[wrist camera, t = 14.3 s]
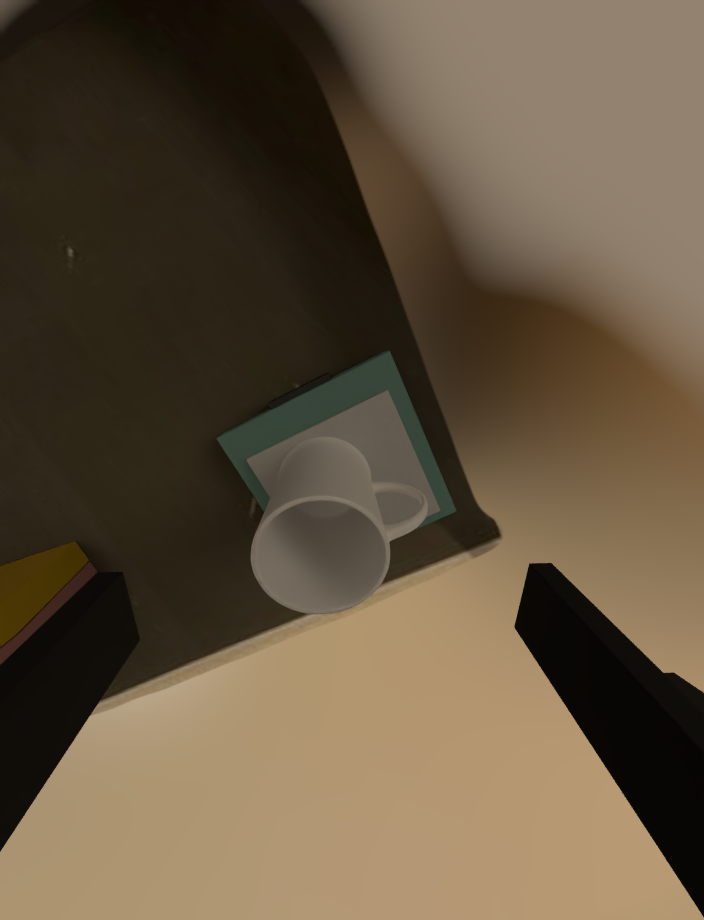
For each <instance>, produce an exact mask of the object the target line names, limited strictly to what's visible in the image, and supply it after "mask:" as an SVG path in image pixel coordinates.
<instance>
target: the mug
mask: <svg viewBox="0 0 704 920" xmlns="http://www.w3.org/2000/svg"><path fill="white" fill-rule="evenodd" d="M379 492H396V493H402V494H406V495H409V496H411V497H413V498H415V499H416V500H418V501H419V502H420V504H421V506H420V508H419V510H418V511H417V512H416V513H415V514H413V515H412V516H410V517H409V518H407V519H405V520H402V521H400V522H397V523H392V524H383V520H382V517H381V514H380V510H379V507H378V504H377V500H376V497H375V493H379ZM427 512H428V503H427V500H426V498H425V496H424V495H423V493H422V492H420V491H419V490H418V489H416V488H414V487H412V486H409V485H406V484H402V483H396V482H373V481H371V472H370V468H369V465H368V463H367V461H366V459H365V457H364V456H363V455H362V453H361V452H360V451H359V450H358V449H357V448H355V447H354V446H353V445H351V444H350V443H348V442H346V441H344V440H341V439H338V438H334V437H316V438H311V439H308V440H306V441H303V442H301V443H300V444H298V445H297V446H295V447H294V448H293V449H292V450H291V451H290V452H289V453H288V454H287V455H286V457H285V458H284V460H283V462H282V464H281V466H280V469H279V474H278V481H277V483H276V485H275V488H274V490H273V493H272V495H271V497H270V500H269V502H268V504H267V507H266V509H265V512H264V514H263V516H262V519H261V521H260V524H259V526H258V528H257V531H256V533H255V536H254V539H253V542H252V547H251V564H252V569H253V572H254V575H255V577H256V579H257V581H258V583H259V584H260V586H261V587H262V588H263V590H264V591H265V592H266V593H267V594H268V595H269V596H270V597H271V598H273V599H274V600H275V601H277V602H278V603H280V604H281V605H283V606H285V607H287V608H290V609H292V610H295V611H299V612H303V613H309V614H331V613H336V612H341V611H344V610H347V609H350V608H352V607H354V606H356V605H358V604H360V603H361V602H363V601H364V600H366V599H367V598H368V597H370V596H371V595H372V594H373V593H374V592H375V591H376V590H377V588H378V587H379V586H380V584H381V583H382V581H383V580H384V578H385V576H386V573H387V570H388V567H389V562H390V545H389V542H390V541H391V540H393V539H396V538H398V537H401V536H403V535H405V534H407V533H409V532H411V531H413V530H414V529H416V528H417V527H418V526H419V525H420V524H421V523H422V522H423V521H424V519H425V518H426V516H427Z"/></svg>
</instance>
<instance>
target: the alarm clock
mask: <svg viewBox="0 0 704 920" xmlns="http://www.w3.org/2000/svg"><path fill="white" fill-rule="evenodd" d="M88 561H89V559H88V558H87V557H86V555H85V554H84V553H83V551H82V550H81V548H80V547H79V546H78V544H77V543H76V542H75V541H74V542H71V543H68V544H65V545H62V546H59V547H56V548H53V549H50V550H47V551H44V552H41V553H38V554H35V555H32V556H29V557H26V558H23V559H20V560H17V561H14V562H11V563H8V564H5V565H3V566H0V665H1V664H2V663H3V662H4V661H5V660H6V659H7V658H8V657H9V656H10V655H11V654H12V653H13V652H14V651H15V650H16V649H17V648H18V647H20V646H21V645H22V644H23V643H24V642H25V641H26V640H27V639H28V638H29V637H30V636H31V635H32V634H33V633H34V632H35V631H36V630H37V629H38V628H39V627H40V626H42V625H43V624H44V623H45V622H46V621H47V620H48V619H49V618H50V617H51V616H52V615H53V614H54V613H55V612H56V611H57V610H58V609H59V608H60V607H61V606H63V605H64V604H65V603H66V602H67V601H68V600H69V599H70V598H71V597H72V596H73V595H74V594H75V593H76V592H77V591H78V590H79V589H80V588H81V587H82V586H83V585H85V584H86V583H87V582H88V581H89V580H90V579H91V578H92V577H93V576H94V575H95V574H96V573H98V572H97V571H96V569H95V568H94V566H93V565H92V564H91V562H90V561H89V562H88Z"/></svg>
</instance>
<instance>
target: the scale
mask: <svg viewBox="0 0 704 920" xmlns="http://www.w3.org/2000/svg"><path fill="white" fill-rule="evenodd" d="M268 406H269V407H270V409H269V410H267V411H265V412H263V413H261V414H259V415H257V416H255V417H253V418H251V419H249V420H247V421H245V422H243V423H241V424H239V425H237V426H235V427H233V428H231V429H229V430H227V431H225V432H224V433H222V434H221V435H220V436H218V437H217V438H216V439H217V440H218V442H219V443H220V445H221V447H222V448H223V450H224V451H225V453H226V454H227V456H228V457H229V459H230V460H231V462H232V463H233V465H234V467H235V468H236V470H237V471H238V473H239V474H240V476H241V477H242V479H243V480H244V482H245V483H246V485H247V487H248V488H249V490H250V491H251V493H252V494H253V496H254V497H255V499H256V500H257V502H258V503H259V505H260V507H261V508H262V510H263V511H264V512H265V509H266V507H267V504H268V502H269V500H270V497H271V495H272V493H273V490H274V488H275V485H276V483H277V481H278V474H279V469H280V466H281V464H282V462H283V460H284V458H285V457H286V455H287V454H288V453H289V452H290V451H291V450H292V449H293V448H294V447H295V446H297V445H298V444H300V443H301V442H303V441H306V440H308V439H311V438H316V437H334V438H338V439H341V440H344V441H346V442H348V443H350V444H351V445H353V446H354V447H355V448H357V449H358V450H359V451H360V452H361V453H362V455H363V456H364V457H365V459H366V461H367V463H368V465H369V468H370V472H371V481H373V482H396V483H402V484H406V485H409V486H412V487H414V488H416V489H418V490H419V491H420V492H422V493H423V495H424V496H425V498H426V500H427V503H428V512H427V516H426V518H425V519H424V521H423V522H422V523H421V524H420V525H419V526H418V527H417V528H416V529H418V528H420V527H422V526H425V525H427V524H429V523H431V522H434V521H436V520H438V519H440V518H442V517H445V516H447V515H449V514H451V513H454V512H456V509H455V506H454V504H453V502H452V499H451V497H450V494H449V492H448V490H447V487H446V485H445V482H444V480H443V478H442V475H441V473H440V470H439V468H438V466H437V463H436V461H435V458H434V456H433V454H432V451H431V449H430V446H429V444H428V442H427V439H426V437H425V434H424V432H423V430H422V427H421V425H420V422H419V420H418V418H417V415H416V413H415V410H414V408H413V406H412V403H411V401H410V398H409V396H408V394H407V391H406V389H405V386H404V384H403V382H402V379H401V377H400V375H399V372H398V370H397V367H396V365H395V363H394V360H393V358H392V355H391V353H390V351H384V352H382V353H380V354H378V355H376V356H374V357H372V358H370V359H368V360H366V361H364V362H362V363H360V364H358V365H356V366H354V367H352V368H350V369H348V370H346V371H344V372H342V373H340V374H338V375H336V376H334V377H332V378H331V376H330V374H329V373H326V374H324V375H322V376H320V377H318V378H316V379H314V380H312V381H310V382H308V383H306V384H304V385H302V386H300V387H298V388H296V389H294V390H292V391H290V392H288V393H286V394H284V395H282V396H280V397H279V398H277V399H275V400H273V401H271V402H270V403H268ZM375 497H376V500H377V504H378V507H379V510H380V514H381V517H382V520H383V524H392V523H397V522H400V521H402V520H405V519H407V518H409V517H410V516H412V515H413V514H415V513H416V512H417V511H418V510H419V508H420V506H421V504H420V502H419V501H418V500H416V499H415V498H413V497H411V496H409V495H406V494H402V493H396V492H379V493H375ZM416 529H414V530H416Z"/></svg>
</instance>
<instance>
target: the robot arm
mask: <svg viewBox="0 0 704 920" xmlns="http://www.w3.org/2000/svg"><path fill="white" fill-rule="evenodd" d="M515 629H516V630H517V632H518V634H519V635H520V637H521V638H522V639H523V641H524V643H525V644H526V646H527V647H528V649H529V650H530V652H531V653H532V655H533V657H534V658H535V660H536V661H537V662H538V664H539V666H540V667H541V669H542V670H543V672H544V673H545V675H546V676H547V678H548V679H549V681H550V683H551V684H552V685H553V687H554V689H555V690H556V692H557V693H558V695H559V696H560V698H561V699H562V701H563V702H564V704H565V705H566V707H567V708H568V710H569V712H570V713H571V715H572V716H573V718H574V719H575V721H576V722H577V724H578V725H579V727H580V728H581V730H582V731H583V733H584V735H585V736H586V738H587V739H588V741H589V742H590V744H591V745H592V747H593V748H594V750H595V751H596V753H597V754H598V756H599V758H600V759H601V761H602V762H603V764H604V765H605V767H606V768H607V770H608V771H609V773H610V774H611V776H612V777H613V779H614V780H615V782H616V784H617V785H618V786H619V788H620V790H621V791H622V793H623V794H624V796H625V797H626V799H627V800H628V802H629V803H630V805H631V806H632V808H633V810H634V811H635V813H636V814H637V816H638V817H639V819H640V820H641V822H642V823H643V825H644V826H645V828H646V829H647V831H648V832H649V834H650V836H651V837H652V839H653V840H654V841H655V843H656V845H657V846H658V848H659V849H660V851H661V852H662V854H663V855H664V857H665V858H666V860H667V862H668V863H669V865H670V866H671V867H672V869H673V871H674V872H675V874H676V875H677V877H678V878H679V880H680V881H681V883H682V885H683V886H684V888H685V889H686V890H687V892H688V893H689V895H690V897H691V898H692V900H693V901H694V903H695V904H696V906H697V907H698V909H699V911H700V912H701V914H702V915H703V917H704V693H703V692H702V691H700V690H699V689H697V688H696V687H694V686H693V685H691V684H690V683H688V682H687V681H685V680H684V679H683V678H681V677H680V676H678V675H677V674H675V673H663V672H662V671H661V670H660V669H659V668H658V667H657V666H656V665H655V664H654V663H653V662H652V661H650V659H649V658H648V657H646V655H644V654H643V652H642V651H640V650H639V649H638V648H637V647H636V646H635V645H634V644H633V643H632V642H631V641H630V640H629V639H628V638H627V637H626V636H625V635H624V634H623V633H622V632H621V631H620V630H619V629H618V628H617V627H616V626H615V625H614V624H613V623H612V622H611V621H610V620H609V619H608V618H607V617H606V616H605V615H604V614H603V613H602V612H601V611H599V609H597V607H596V606H594V604H592V603H591V602H590V601H589V600H588V599H587V598H586V597H585V596H584V595H583V594H582V593H581V592H580V591H579V590H578V589H577V588H576V587H575V586H574V585H573V584H572V583H571V582H570V581H569V580H568V579H567V578H566V577H565V576H564V575H563V574H562V573H561V572H560V571H559V570H558V569H557V568H556V567H555V566H554V565H553V564H552V563H535V564H533V563H532V564H529V567H528V572H527V576H526V580H525V584H524V588H523V593H522V597H521V602H520V606H519V610H518V614H517V618H516V622H515ZM139 640H140V638H139V634H138V630H137V626H136V623H135V619H134V615H133V611H132V607H131V603H130V599H129V595H128V591H127V587H126V583H125V579H124V576H123V572H107V573H96V574H95V575H94V576H93V577H92V578H91V579H90V580H89V581H88V582H87V583H86V584H85V585H83V586H82V587H81V588H80V589H79V590H78V591H77V592H76V593H75V594H74V595H73V596H72V597H71V598H70V599H69V600H68V601H67V602H66V603H65V604H64V605H63V606H61V607H60V608H59V609H58V610H57V611H56V612H55V613H54V614H53V615H52V616H51V617H50V618H49V619H48V620H47V621H46V622H45V623H44V624H43V625H42V626H40V627H39V628H38V629H37V630H36V631H35V632H34V633H33V634H32V635H31V636H30V637H29V638H28V639H27V640H26V641H25V642H24V643H23V644H22V645H21V646H20V647H18V648H17V649H16V650H15V651H14V652H13V653H12V654H11V655H10V656H9V657H8V658H7V659H6V660H5V661H4V662H3V663H2V664H1V665H0V851H1V850H2V848H3V847H4V845H5V844H6V842H7V840H8V839H9V837H10V836H11V835H12V833H13V832H14V830H15V828H16V827H17V825H18V824H19V822H20V821H21V819H22V818H23V816H24V815H25V813H26V812H27V810H28V809H29V807H30V806H31V804H32V803H33V801H34V800H35V798H36V797H37V795H38V794H39V792H40V790H41V789H42V788H43V786H44V784H45V783H46V781H47V780H48V778H49V777H50V775H51V774H52V772H53V771H54V769H55V768H56V766H57V765H58V763H59V762H60V760H61V759H62V757H63V756H64V754H65V753H66V751H67V750H68V748H69V747H70V745H71V744H72V742H73V741H74V739H75V737H76V736H77V734H78V733H79V731H80V730H81V728H82V727H83V725H84V724H85V722H86V721H87V719H88V717H89V716H90V715H91V713H92V712H93V710H94V709H95V707H96V706H97V704H98V703H99V701H100V700H101V698H102V697H103V695H104V694H105V692H106V690H107V689H108V687H109V686H110V684H111V683H112V681H113V680H114V678H115V677H116V675H117V674H118V672H119V671H120V669H121V668H122V666H123V665H124V663H125V662H126V660H127V659H128V657H129V656H130V654H131V653H132V651H133V650H134V648H135V647H136V645H137V643H138V642H139Z"/></svg>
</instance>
